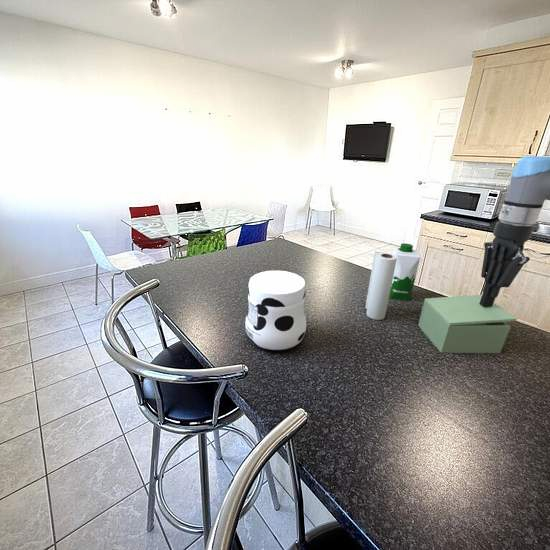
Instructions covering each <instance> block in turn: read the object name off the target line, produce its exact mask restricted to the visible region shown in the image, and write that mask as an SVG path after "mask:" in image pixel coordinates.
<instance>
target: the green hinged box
mask: <svg viewBox="0 0 550 550" xmlns="http://www.w3.org/2000/svg"><path fill="white" fill-rule="evenodd" d="M417 324H418V327H419V329H421V331H422V332H423V333H424V334H425V335H426V337H427V338H428V339H429V340H430V342H431V343H432V344H433V346H434V347H435V348H436V349H437V350H438V351H439V352H440V353H441V354H501V352H502V349H503V347H504V345H505V342H506V340H507V337H508V335H509V333H510V330H511V328H512V326H511V325H509V324H508V322H495V323H486V324H487V325H450V326H449V325H448V324H447V323H446V322H445V321H444V320H443V319H442V318H441V317H440V316H439V315H438V314H437V313H436V312H435V311H434V310H433V309H432V308H431V307H430V306H429V305H428V304H427V303H426V302H425V300H424V301H423V304H422V308H421V313H420V316H419V319H418V323H417Z"/></svg>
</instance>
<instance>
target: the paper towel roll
mask: <svg viewBox="0 0 550 550" xmlns="http://www.w3.org/2000/svg"><path fill="white" fill-rule="evenodd" d="M396 261H397V257H396V256H395V255H393V253H390V252H389V253H388V252H382V251H377V250H374V254H373V259H372V265H371V271H370V277H369V284H368V288H367V295H366V301H365V307H364V308H365V310H366V314H365V315H366V316H367V318H370V319H372V320H376V321H381V320H384V319H385V318H386V315H387V314H386V313H387V310H388V304H389V300H390V298H389V295H390V290H391V285H392V280H393V275H394V270H395V265H396Z"/></svg>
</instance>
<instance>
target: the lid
mask: <svg viewBox="0 0 550 550" xmlns="http://www.w3.org/2000/svg"><path fill="white" fill-rule="evenodd" d="M481 297H482V294H475V295H474V294H469V295H457V296H456V295H455V296H441V297H427V298H424V301H425V302H426V303H427V304H428V305H429V306H430V307H431V308H432V309H433V310H434V311H435V312H436V313H437V314H438V315H439V316H440V317H441V318H442V319H443V320H444V321H445V322H446V323H447V324H448V325H449V326H450V325H465V324H480V323H495V322H505V323H508V322H510V323H511V322H517V317H515V316H514V315H512V313H510V312H508V311H506V309H505V308H503V307H502V306H500V305H498V304H497V303H496V302H494V303H493V306H492V307H483V306H481V305H480V304H479V303H480V300H481Z"/></svg>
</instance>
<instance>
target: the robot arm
mask: <svg viewBox="0 0 550 550" xmlns="http://www.w3.org/2000/svg"><path fill="white" fill-rule="evenodd" d="M510 178H511V179H510V181H509V184H508V188H507V191H506V194H505V197H504V200H503V204H502V206H501V209H500V211H499V215H498V221H497V222H496V223H495V226H494V229H493V231H492V235H493V236H494V238H493V239H492V241H489V242H487V241H486V242H484V244H483V247H484V254H483V261H482V267H481V273H480V274H481V275H480V277H481V278H483V279H484V282H485V283H484V284H483V289H482V294H481V295H482V297H481V300H480V303H479V304H480V305H481V306H483V307H492V306H493V303H495V300H496V298H498V296H499V293H500V291H501V288H509V287H510V286H511V285H512V283H513V282H514V280H515V279H516V277H517V276H518V274H519V273H520V271H521V270H522V268H524V267H523V266H525V265H526V264H527V263H528V262H529V261H530V260H531V259H530V256H525V254H524V250H525V244H526V243H527V242H528V241H529V240H530V239H531V236H532V234H533V231H534V229H535V227H534V225H535V224H537V221H538V220H539V216H540V213H541V211H542V208H543V206H544V204H545V202H546V201H550V156H541V155H540V156H538V155H525V156H522V157H520V158H519V159H518V160H517V163H516V165H515V167H514V170H513V173H512V174H511V176H510Z"/></svg>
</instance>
